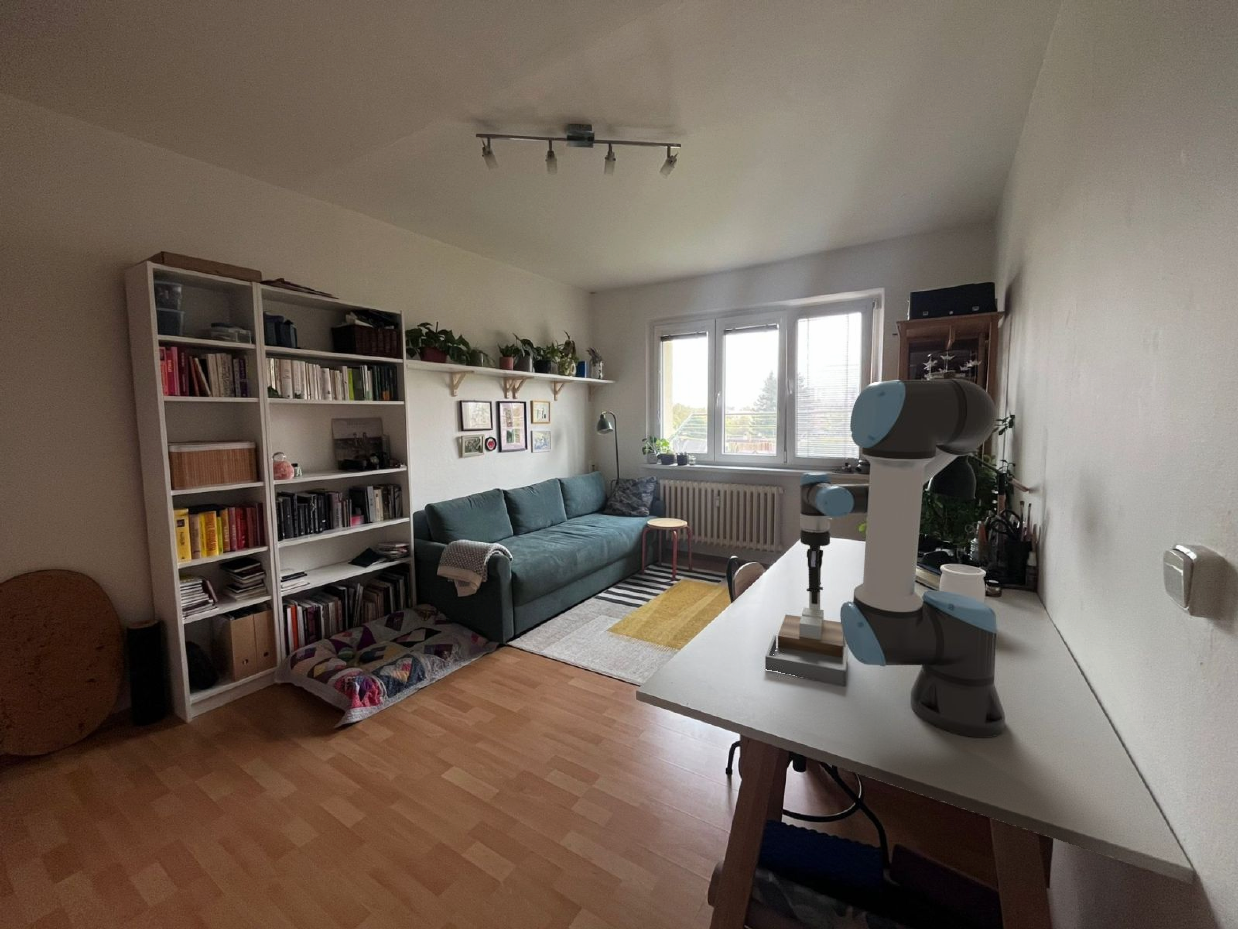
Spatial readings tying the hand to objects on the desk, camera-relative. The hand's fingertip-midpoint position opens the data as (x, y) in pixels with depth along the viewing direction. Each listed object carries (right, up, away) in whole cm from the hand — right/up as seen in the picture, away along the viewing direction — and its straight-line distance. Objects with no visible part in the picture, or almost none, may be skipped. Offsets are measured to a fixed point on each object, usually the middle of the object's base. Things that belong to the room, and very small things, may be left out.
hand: (814, 613), depth 134 cm
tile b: (-2, -2, -4) cm, 5 cm away
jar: (+44, -3, +5) cm, 44 cm away
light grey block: (-5, -2, -10) cm, 11 cm away
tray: (-9, -7, -19) cm, 22 cm away
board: (-3, -5, -7) cm, 9 cm away
